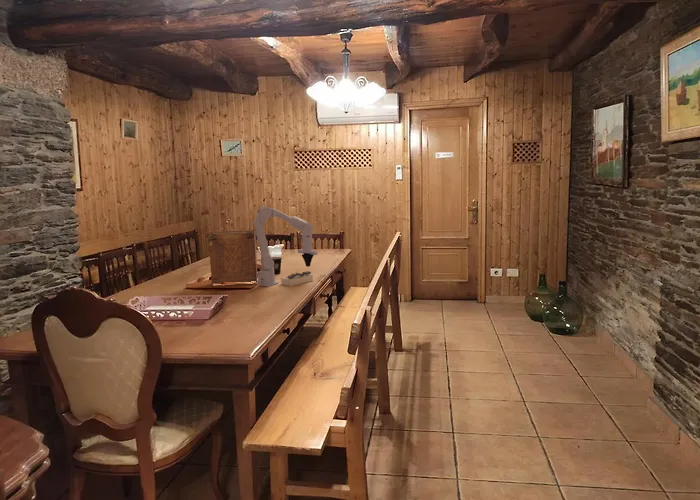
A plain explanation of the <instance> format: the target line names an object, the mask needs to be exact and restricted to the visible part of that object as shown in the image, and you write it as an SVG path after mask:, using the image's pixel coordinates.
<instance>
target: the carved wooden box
mask: <svg viewBox="0 0 700 500" xmlns="http://www.w3.org/2000/svg"><path fill="white" fill-rule="evenodd" d="M207 236H208V250H209V262H210V265H209V266H210V275H211V276H210V277H211V280H210V281H211V284H212V283H224V282H251V281H256V282H257V283H258V281H257V278H258V262H257V261H258V260H257V259H258V257H257V243H256V240H257V237H256V231H255V229H251V230H234V231H233V230H231V231H230V230H229V231H226V230H225V231H211V232H210V233H208V235H207Z"/></svg>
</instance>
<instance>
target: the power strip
mask: <svg viewBox="0 0 700 500" xmlns="http://www.w3.org/2000/svg"><path fill="white" fill-rule="evenodd" d="M280 280H281V281H280V282H281V283H280V284H281V285H284V286H289V287H291V286H292V287H293V286H296V285H301V284H304V283H309V282H313V281H314V275H313V274H312V273H311V274H307V275H304V276H298V275H296V277H294V278H292V279H290V278H288V276H285V277H284V276H283V277H281V278H280Z"/></svg>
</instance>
